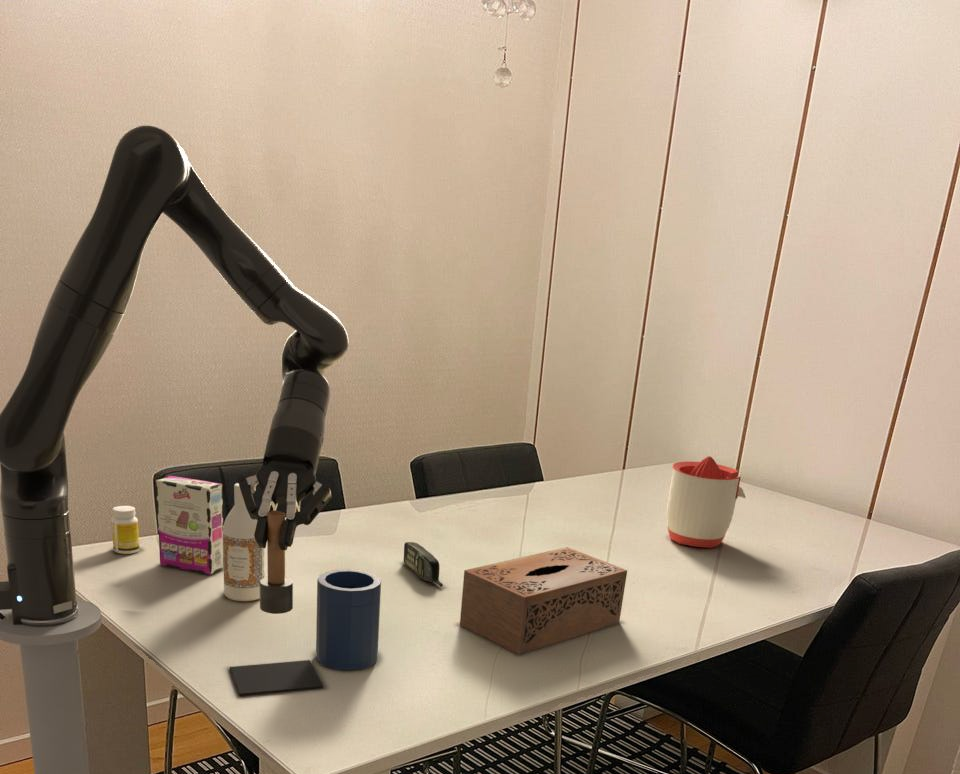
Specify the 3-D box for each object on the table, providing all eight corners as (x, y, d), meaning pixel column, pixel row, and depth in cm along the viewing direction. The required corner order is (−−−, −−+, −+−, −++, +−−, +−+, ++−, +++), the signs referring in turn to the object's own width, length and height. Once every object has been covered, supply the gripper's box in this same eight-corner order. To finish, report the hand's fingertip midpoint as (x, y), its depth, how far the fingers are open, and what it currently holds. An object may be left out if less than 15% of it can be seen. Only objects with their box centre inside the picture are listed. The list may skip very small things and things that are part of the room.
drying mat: (239, 696, 136) (239, 693, 136) (229, 669, 144) (229, 666, 144) (323, 688, 141) (323, 685, 141) (309, 662, 148) (309, 660, 148)
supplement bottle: (144, 550, 188) (142, 508, 185) (125, 556, 184) (122, 513, 181) (127, 544, 190) (125, 503, 187) (108, 550, 186) (105, 508, 183)
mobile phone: (401, 540, 192) (433, 563, 180) (415, 539, 193) (447, 561, 181) (400, 564, 194) (431, 588, 182) (414, 563, 195) (446, 586, 183)
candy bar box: (225, 568, 183) (224, 483, 176) (211, 575, 179) (209, 489, 172) (173, 557, 186) (170, 473, 179) (158, 565, 181) (154, 479, 175)
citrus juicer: (738, 556, 217) (756, 469, 209) (661, 546, 219) (675, 459, 211) (733, 536, 232) (749, 454, 224) (660, 527, 234) (673, 445, 226)
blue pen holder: (324, 673, 145) (326, 592, 140) (310, 647, 153) (311, 570, 148) (384, 667, 149) (388, 588, 144) (367, 643, 157) (370, 567, 152)
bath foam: (218, 599, 168) (215, 487, 160) (231, 586, 175) (229, 477, 167) (257, 604, 168) (256, 492, 160) (269, 590, 174) (269, 481, 166)
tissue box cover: (518, 654, 158) (524, 597, 154) (459, 624, 167) (464, 570, 163) (619, 622, 174) (627, 570, 170) (560, 597, 184) (567, 547, 180)
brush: (263, 615, 135) (262, 518, 130) (257, 602, 139) (256, 508, 133) (295, 612, 137) (296, 517, 131) (289, 600, 141) (289, 507, 135)
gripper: (241, 419, 135) (215, 528, 129) (339, 429, 135) (317, 539, 128) (253, 448, 142) (228, 553, 136) (346, 458, 142) (326, 564, 135)
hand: (272, 546), depth 132 cm, fingers closed on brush, 2 cm apart
